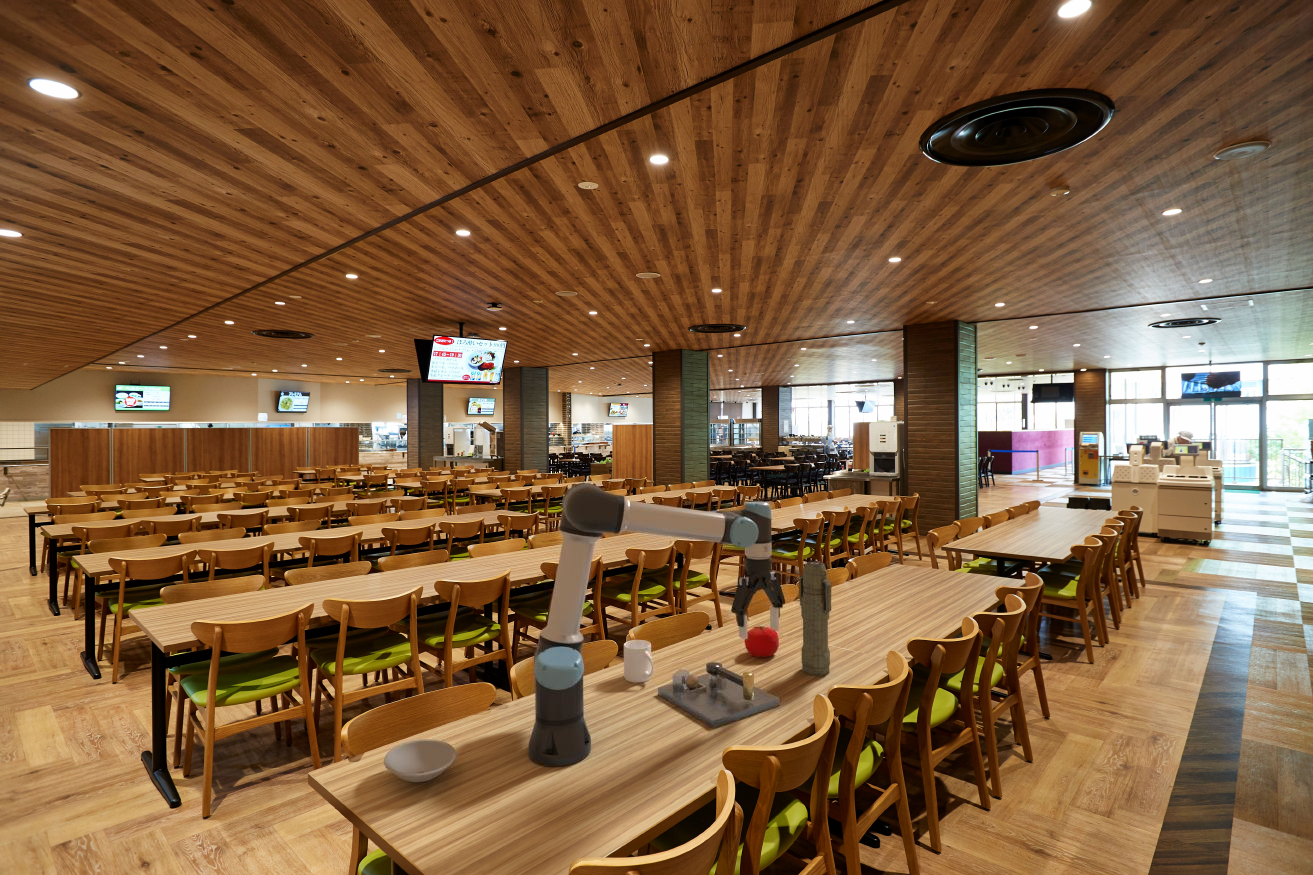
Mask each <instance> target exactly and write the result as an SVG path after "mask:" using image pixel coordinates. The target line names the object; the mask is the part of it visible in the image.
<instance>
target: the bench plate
mask: <svg viewBox="0 0 1313 875" xmlns="http://www.w3.org/2000/svg"><path fill="white" fill-rule="evenodd" d="M689 675H690V670H686V669H682V668H680V669H678V670H677V671H675V672H674V673H673V674H672V683H669V684H667V685H663V686H659V687H657V695H658V696H660V697H661V698H662V699H664V700H666V701H668V702H669V703H671V704H673V705H675V706H676V707H678V708H679V709H681V710H683V711H685V712H686V713H687V714H690V715H691V716H693V717H695V718H696V719H698V720H700V721H701V722H703V723H704V724H705V725H707V726H709V727H711V728H713V729H717V728H718V727H721V726H724V725H725V726H726V725H727V724H730V723H733V722H736V721H739V720H741V719H742V720H743V719H744V718H747V717H750V716H753V715H756V714H758V713H762V712H764V711H767V710H770V709H773V708H776V707H778V706H780V705H781V704H780V702H781V700H780V697H778V696H776V695H774V694H772V693H769V692H767V691H766V690H764V689H761V688H759V687H758V686H755V685H754V699H753V700H745V699H743V687H742V686H740V685H738V684H736V683H734V682H732V681H730V680H728V679H726V690H723V691H722V690H720V689H718V688H717V676H720V675H718V674H709V673H706V674H701V675H698V676H697V677H698V679H699V685H698V687H697V688H695V689H690V688H688V687H687V685H686V678H687V677H688V676H689Z"/></svg>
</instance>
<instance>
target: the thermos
mask: <svg viewBox="0 0 1313 875" xmlns="http://www.w3.org/2000/svg"><path fill="white" fill-rule="evenodd" d="M825 565H826V564H824V563H823V562H820V561H808V562H806V563H805V564H804V567H803V569H802V574H801V575H800V577H799V578H798V580H799V582H798V583H799V584H798V585H799V587H798V588H799V590H798V591H799V593H798V594H799V606H800V609H801V610H800V612H801V614H800V616H801V618H802V643H803V644H802V647H801V665H802V666H801V671H802V672H803V673H804V674H806V675H808V676H813V677H825V676H828V675H829V674H830V665H831V651H830V648H829V620H830V612H831V611H832V583H831V581H830V580H829V579H828V572H827V569H826V566H825Z"/></svg>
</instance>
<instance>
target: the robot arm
mask: <svg viewBox="0 0 1313 875" xmlns="http://www.w3.org/2000/svg"><path fill="white" fill-rule="evenodd" d="M561 502H562V503H561V508H562V510H561V511H562V512H561V515H560V522H559V528H558V531H559V533H560V534H561V536H562V543H561V547H560V554H559V560H558V565H557V571H556V576H555V581H554V587H553V591H552V597H551V603H550V608H549V614H548V619H547V625H546V626H545V627H544V628H542V629H541V630H540V631H539V632H540V633H539V638H538V643H537V647H536V648H535V651H534V655H533V666H534V668H533V674H534V689H535V690H534V693H535V694H534V697H535V698H534V699H535V700H534V701H535V702H534V704H535V706H534V707H535V710H534V712H535V713H534V714H535V721H534V725H533V728H532V732H531V734H530V737H529V741H528V746H527V747H528V752H527V753H528V758H529V759H530V760H531V761H532V762H533V763H535V764H538V765H541V766H545V767H565V766H570V765H574V764H576V763H578V762H581V761H582V760H584V759H586V758H587V757H588V756H589V755H590V753H591V751H592V738H591V734H590V731H589V729H588V725H587V723H586V720H585V716H584V715H585V714H584V712H585V711H584V705H585V704H584V703H585V702H584V672H585V665H584V661H583V660H584V659H583V655H582V649H583V644H584V636H583V634H582V633H581V632H580V627H581V623H582V617H583V611H584V610H583V609H584V605H585V601H586V596H587V595H586V594H587V589H588V588H587V587H588V584H589V577H590V573H591V567H592V560H593V557H594V556H593V555H594V549H595V545H596V542H598V541H600V539H602V536H603V533H604V534H614V535H616V534H617V535H620V534H622V532H631V533H633V532H634V533H640V534H648V535H655V536H665V537H673V538H681V539H689V540H696V541H705V542H712V543H720V544H727V545H734V546H735V547H738V548H744V555H745V556H746V557H744V570H745V571H746V576H744V577H740V576H739V577H737V587H736V590H735V593H734V597H733V598H734V599H733V601H732V604H731V605H732V606H731V610H730V611H731V613H733V614H735V615H736V619H737V620H736V623H737V626H738V637H739V638H741V639H744V640H745V639H748V633H747V632H748V614H747V613H746V612H747V610H748V608H749V606H750V604H751V601H752V599H753V598H754V595H755V594H757V592H759V591H761V590H762V591H764V593H765V594H766V596H767V598H768V600H769V602H770V603H771V605H770V606H769V619H770V621H769V625H770V627H769V628H770V629H772V630H775V631H776V632H779V631H780V617H781V609H783V607H784V605H785V604H786V598H785V596H784V592H783V589H782V585H781V582H780V573H779V572H778V571H777V572H776V571H773V559H772V557H771V556H772V555H773V554H772V553H773V552H772V521H773V520H772V519H773V518H772V510H771V509H772V507H771V505H770V503H768V502H765V501H746V502H745V503H744V505H743V506H744V507H743V509H738V510H737V509H736V510H734V509H733V510H731V509H730V510H717V509H716V510H709V511H705V510H699V509H698V510H697V509H691V508H685V507H684V508H683V507H676V506H669V505H662V504H657V503H656V504H654V503H648V502H640V501H633V500H628V498H627V497H626V496H625V495H621V494H614V493H611V492H608V491H605V490H602V489H601V488H600V487H599V486H598V485H596V484H592V483H590V482H580V483H577V484H574V485H573V486H571V487H570V488H568V490H567V491H566V492H565V493H564V495H563V498H562V501H561Z"/></svg>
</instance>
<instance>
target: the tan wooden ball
mask: <svg viewBox="0 0 1313 875" xmlns="http://www.w3.org/2000/svg"><path fill="white" fill-rule="evenodd" d="M686 685H687V687H688V688H690V689H695V688H697V687H698V685H699V679H698V676H697V675H696V674H689V676H688V677H687V678H686Z"/></svg>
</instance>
